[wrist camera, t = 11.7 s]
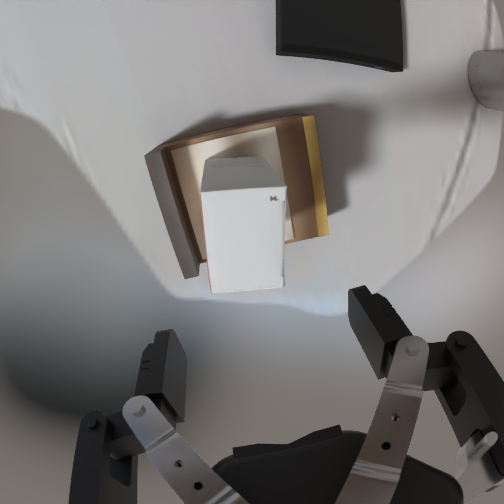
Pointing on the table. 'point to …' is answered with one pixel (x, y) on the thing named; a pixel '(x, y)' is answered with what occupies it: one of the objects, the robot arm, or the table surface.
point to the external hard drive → (342, 31)
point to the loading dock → (231, 146)
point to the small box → (243, 224)
